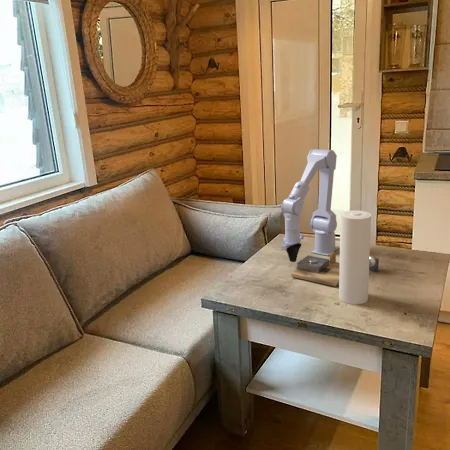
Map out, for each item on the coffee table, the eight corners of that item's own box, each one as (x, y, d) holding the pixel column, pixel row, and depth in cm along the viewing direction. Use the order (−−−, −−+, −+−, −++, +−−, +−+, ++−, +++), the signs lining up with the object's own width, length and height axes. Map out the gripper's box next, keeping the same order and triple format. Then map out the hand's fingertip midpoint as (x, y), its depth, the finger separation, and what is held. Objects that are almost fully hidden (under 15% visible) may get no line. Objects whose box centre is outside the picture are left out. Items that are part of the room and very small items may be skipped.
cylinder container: (369, 305, 148) (372, 217, 139) (339, 303, 150) (341, 217, 141) (366, 292, 157) (369, 208, 148) (338, 291, 159) (339, 208, 150)
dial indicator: (372, 268, 176) (373, 253, 174) (379, 271, 172) (380, 256, 170) (365, 269, 175) (366, 255, 173) (372, 273, 171) (373, 258, 169)
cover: (308, 261, 181) (307, 254, 180) (329, 265, 176) (329, 258, 175) (297, 269, 175) (297, 261, 174) (318, 273, 169) (318, 266, 168)
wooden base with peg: (313, 260, 185) (313, 248, 184) (355, 268, 175) (356, 256, 173) (291, 276, 172) (291, 263, 170) (336, 286, 161) (336, 273, 160)
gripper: (292, 222, 184) (292, 253, 188) (273, 232, 173) (274, 265, 177) (308, 224, 180) (308, 256, 184) (290, 235, 169) (290, 269, 173)
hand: (292, 261), depth 180 cm, fingers closed
